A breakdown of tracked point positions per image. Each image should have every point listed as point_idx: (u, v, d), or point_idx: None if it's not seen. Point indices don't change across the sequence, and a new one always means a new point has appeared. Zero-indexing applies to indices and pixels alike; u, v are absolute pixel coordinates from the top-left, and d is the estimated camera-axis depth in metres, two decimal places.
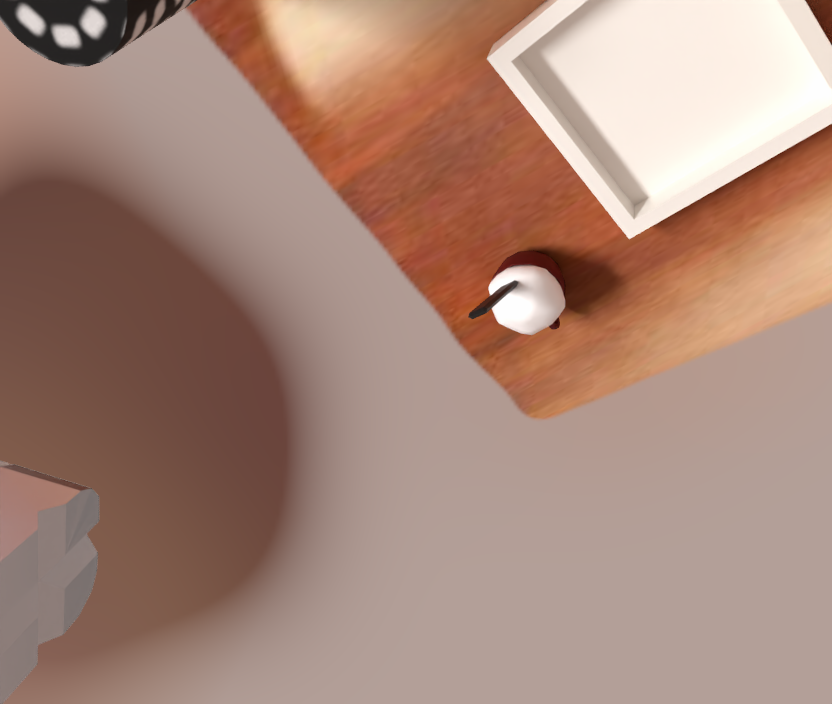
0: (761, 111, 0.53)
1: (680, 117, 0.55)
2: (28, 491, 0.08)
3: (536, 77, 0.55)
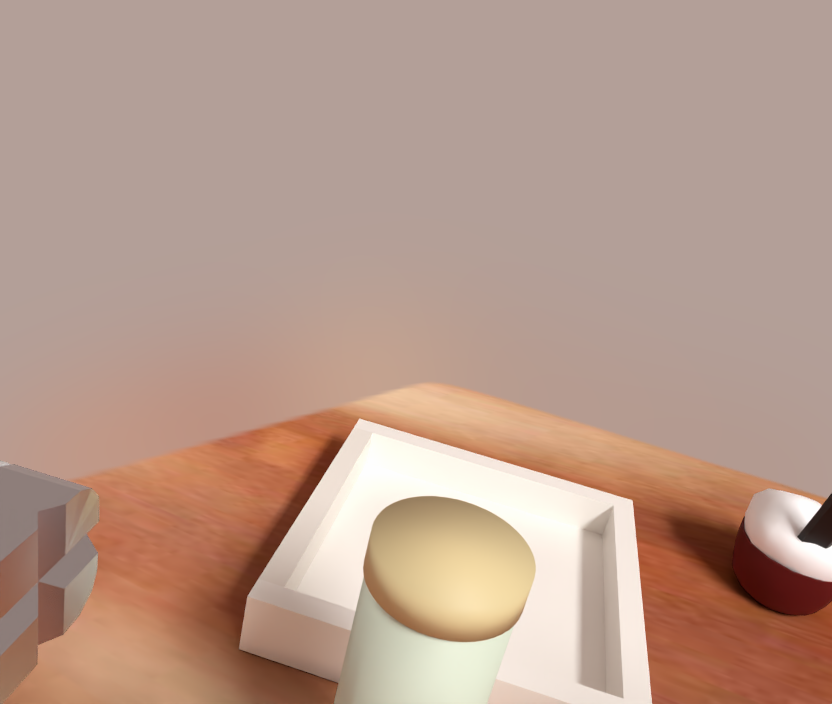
0: (426, 492, 0.47)
1: None
2: (28, 491, 0.08)
3: (605, 691, 0.35)
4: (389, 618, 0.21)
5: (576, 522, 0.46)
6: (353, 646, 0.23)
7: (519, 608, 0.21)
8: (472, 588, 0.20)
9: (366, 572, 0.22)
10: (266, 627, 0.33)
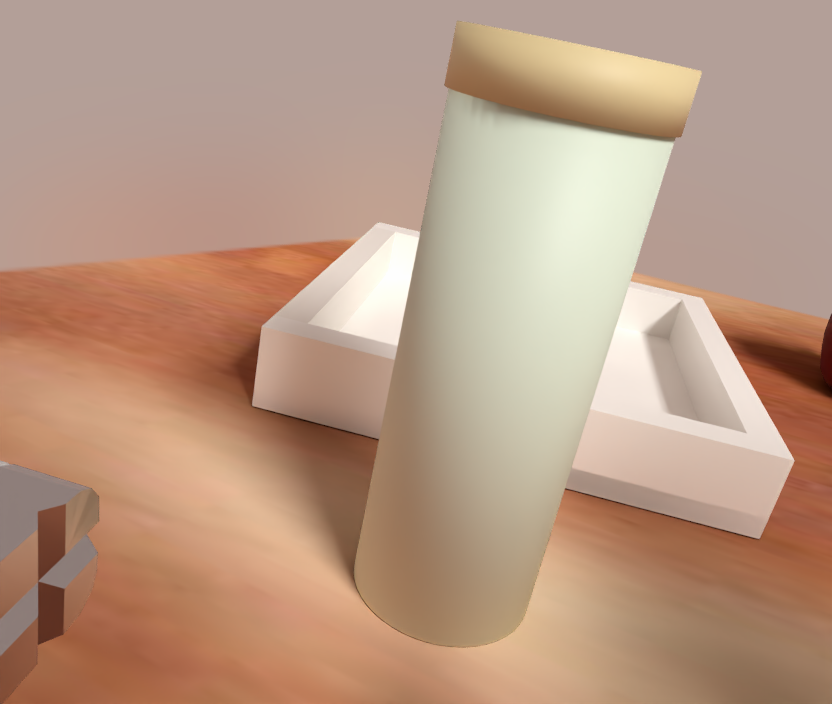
0: None
1: None
2: (28, 491, 0.08)
3: None
4: (496, 114, 0.14)
5: (638, 325, 0.40)
6: (432, 214, 0.16)
7: (686, 102, 0.14)
8: None
9: (453, 75, 0.15)
10: (287, 369, 0.26)
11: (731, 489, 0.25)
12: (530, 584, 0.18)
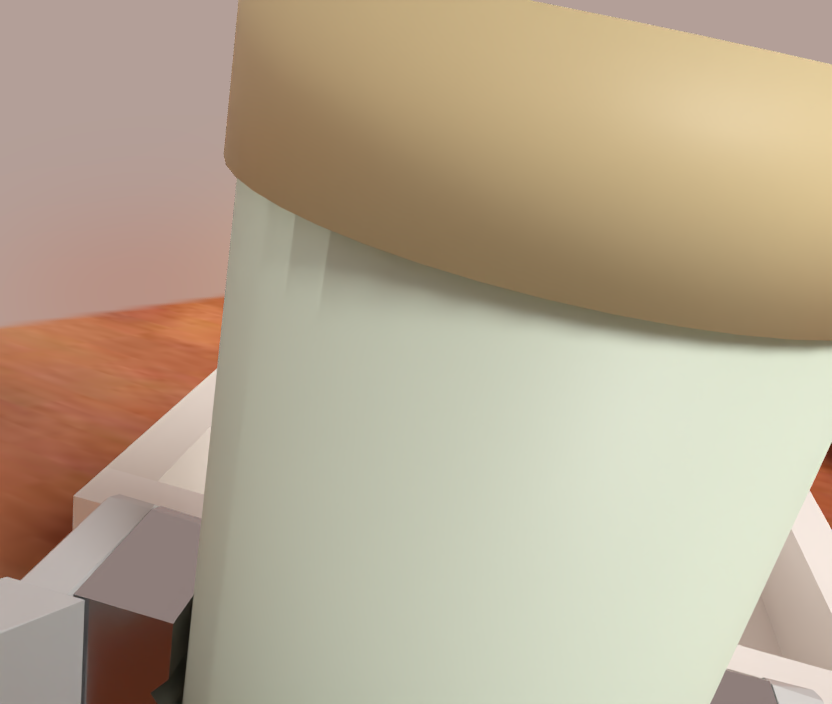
0: None
1: None
2: (186, 536, 0.08)
3: None
4: (329, 263, 0.04)
5: None
6: (208, 485, 0.06)
7: None
8: None
9: (229, 122, 0.05)
10: None
11: None
12: None
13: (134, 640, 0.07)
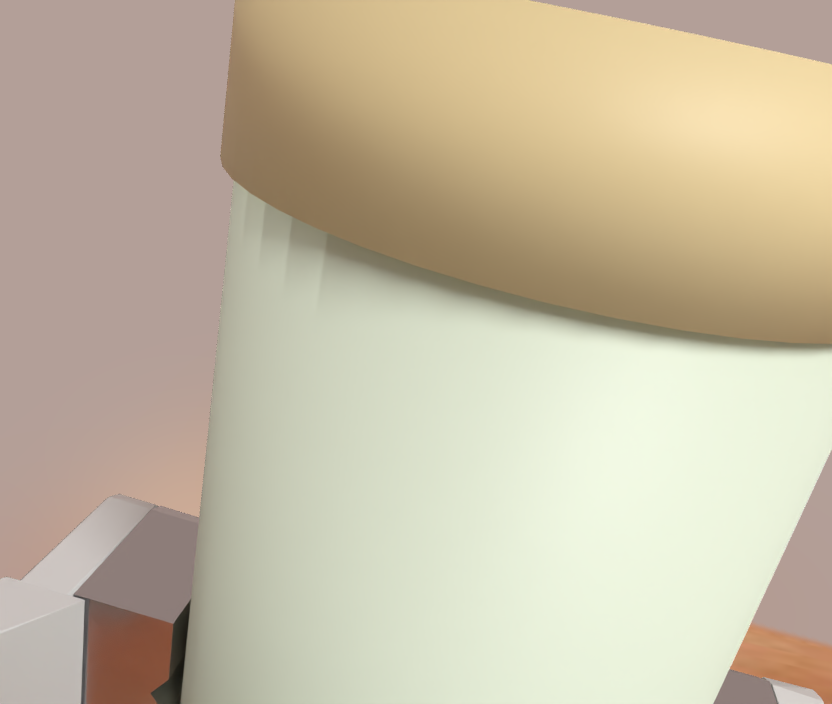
0: None
1: None
2: (186, 536, 0.08)
3: None
4: (324, 266, 0.04)
5: None
6: (205, 489, 0.06)
7: None
8: None
9: (226, 123, 0.05)
10: None
11: None
12: None
13: (134, 640, 0.07)
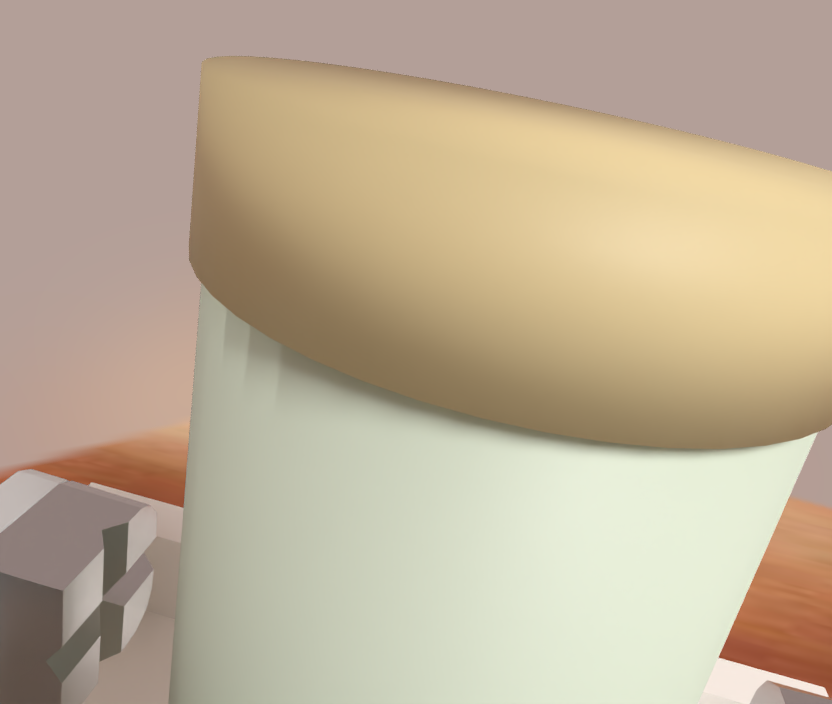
0: None
1: None
2: (90, 509, 0.08)
3: None
4: (282, 371, 0.04)
5: None
6: (182, 555, 0.06)
7: None
8: (696, 177, 0.04)
9: None
10: None
11: None
12: None
13: (26, 608, 0.07)
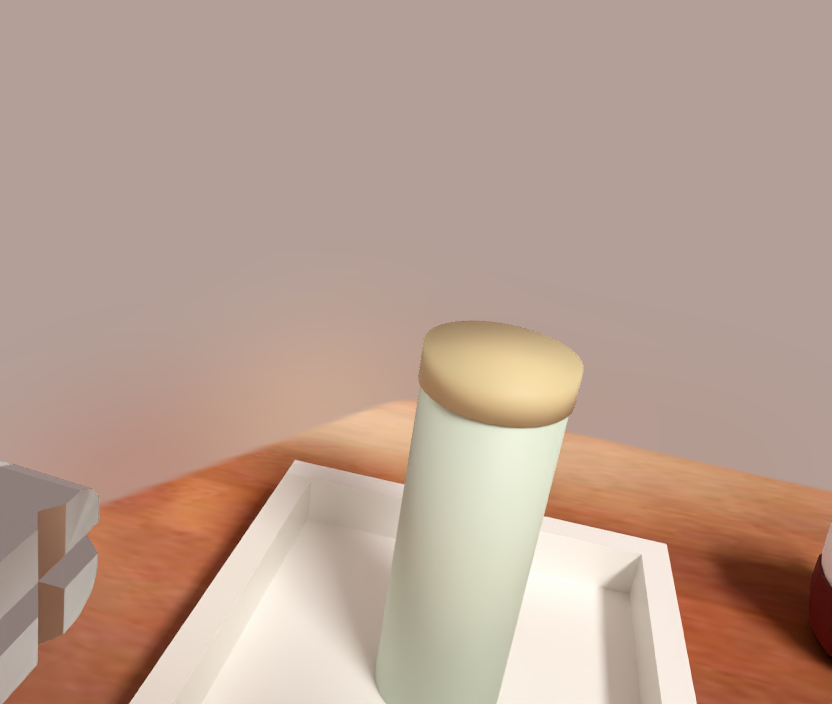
0: (388, 553, 0.34)
1: None
2: (28, 491, 0.08)
3: None
4: (449, 414, 0.22)
5: (593, 579, 0.34)
6: (414, 459, 0.24)
7: (571, 398, 0.22)
8: (526, 377, 0.22)
9: (422, 380, 0.23)
10: None
11: None
12: (497, 685, 0.27)
13: None
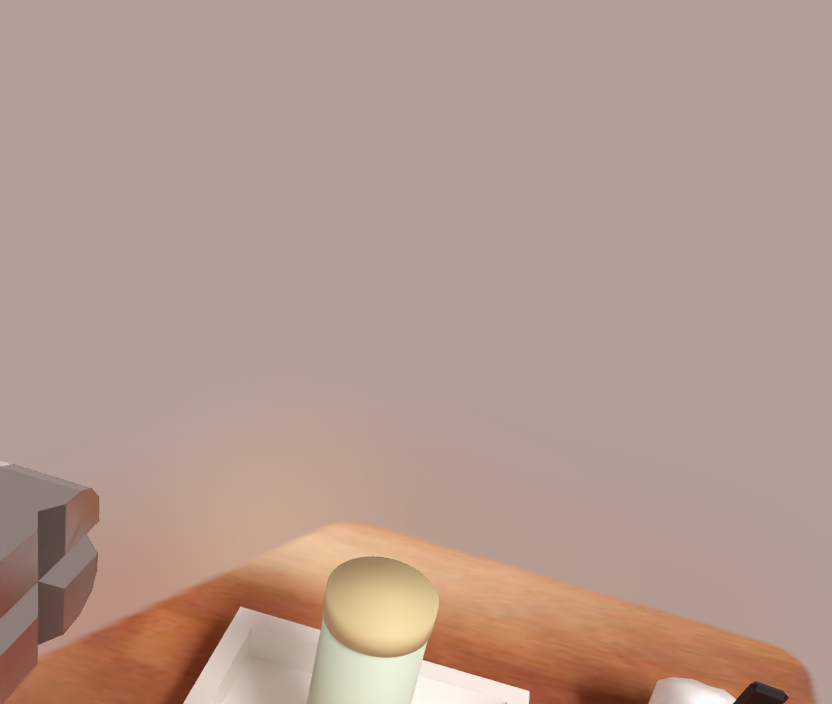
0: None
1: None
2: (28, 491, 0.08)
3: None
4: (340, 644, 0.31)
5: None
6: (317, 664, 0.33)
7: (426, 633, 0.32)
8: (393, 621, 0.31)
9: (324, 613, 0.32)
10: None
11: None
12: None
13: None
